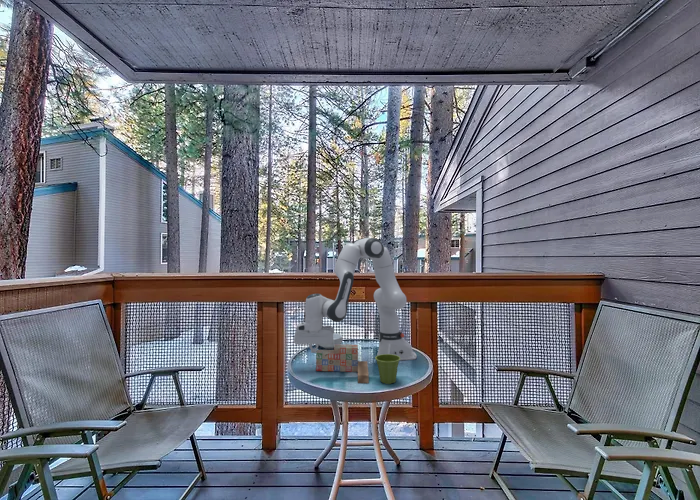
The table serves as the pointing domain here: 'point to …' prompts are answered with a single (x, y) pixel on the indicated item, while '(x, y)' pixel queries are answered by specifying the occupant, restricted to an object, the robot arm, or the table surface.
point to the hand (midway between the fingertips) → (313, 352)
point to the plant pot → (387, 367)
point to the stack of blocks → (338, 358)
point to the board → (363, 372)
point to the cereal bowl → (337, 340)
